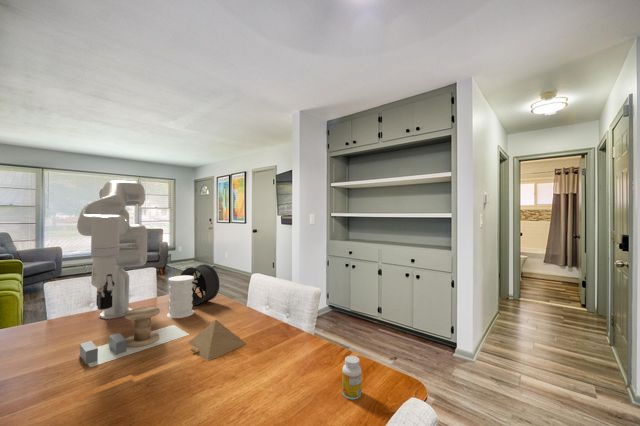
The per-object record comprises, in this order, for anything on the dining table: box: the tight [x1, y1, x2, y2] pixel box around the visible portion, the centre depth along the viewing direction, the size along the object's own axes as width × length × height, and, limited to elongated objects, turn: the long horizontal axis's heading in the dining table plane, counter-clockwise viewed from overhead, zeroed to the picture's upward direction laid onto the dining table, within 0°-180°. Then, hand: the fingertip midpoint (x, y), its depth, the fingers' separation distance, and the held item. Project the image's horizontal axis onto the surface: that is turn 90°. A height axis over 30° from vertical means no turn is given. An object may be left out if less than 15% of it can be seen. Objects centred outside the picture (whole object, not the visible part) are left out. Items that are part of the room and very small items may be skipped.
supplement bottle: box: [341, 355, 363, 400], centre depth 79 cm, size 5×5×10 cm
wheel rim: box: [179, 263, 220, 306], centre depth 152 cm, size 20×9×20 cm, turn 67°
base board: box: [87, 324, 190, 368], centre depth 103 cm, size 14×31×1 cm, turn 141°
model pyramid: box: [187, 319, 247, 362], centre depth 105 cm, size 17×17×10 cm
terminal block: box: [79, 332, 127, 365], centre depth 95 cm, size 8×11×4 cm
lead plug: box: [96, 286, 109, 311], centre depth 95 cm, size 4×4×7 cm
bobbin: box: [124, 306, 161, 348], centre depth 105 cm, size 11×11×11 cm
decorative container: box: [166, 275, 195, 319], centre depth 133 cm, size 12×12×18 cm
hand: (104, 306), depth 95 cm, fingers closed on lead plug, 3 cm apart
